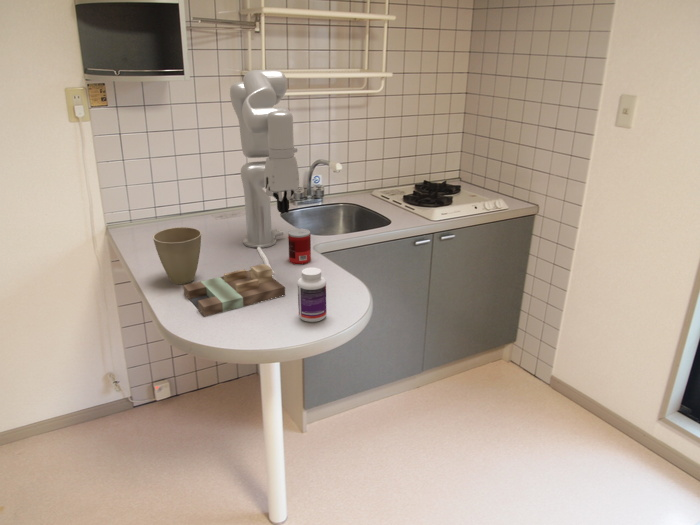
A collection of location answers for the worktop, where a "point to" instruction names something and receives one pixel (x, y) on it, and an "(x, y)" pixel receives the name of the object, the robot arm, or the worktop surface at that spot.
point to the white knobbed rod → (264, 258)
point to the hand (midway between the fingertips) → (283, 211)
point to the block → (261, 273)
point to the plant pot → (179, 252)
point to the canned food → (299, 246)
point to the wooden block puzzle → (231, 292)
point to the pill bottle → (312, 295)
